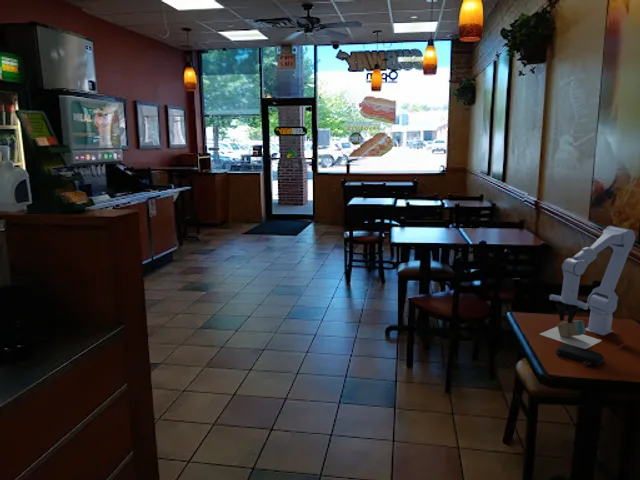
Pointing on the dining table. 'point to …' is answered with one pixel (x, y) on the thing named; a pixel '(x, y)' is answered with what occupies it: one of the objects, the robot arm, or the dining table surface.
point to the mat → (572, 338)
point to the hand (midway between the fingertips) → (565, 321)
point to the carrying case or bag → (580, 355)
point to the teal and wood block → (571, 328)
